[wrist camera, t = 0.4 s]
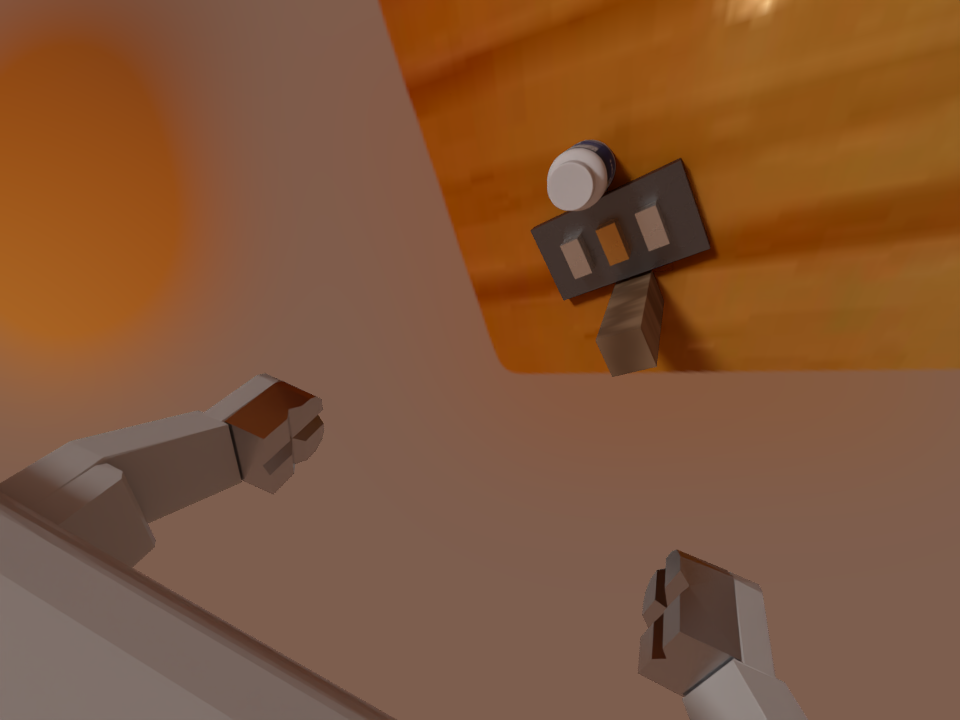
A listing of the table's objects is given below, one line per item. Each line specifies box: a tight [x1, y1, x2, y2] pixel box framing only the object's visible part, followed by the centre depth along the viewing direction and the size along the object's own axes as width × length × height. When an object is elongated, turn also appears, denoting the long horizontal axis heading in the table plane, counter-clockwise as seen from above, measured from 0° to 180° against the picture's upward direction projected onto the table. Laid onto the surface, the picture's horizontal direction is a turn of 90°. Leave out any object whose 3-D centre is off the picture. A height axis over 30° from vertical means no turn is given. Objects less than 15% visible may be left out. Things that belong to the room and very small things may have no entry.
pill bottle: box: [547, 140, 616, 211], centre depth 42 cm, size 5×5×10 cm
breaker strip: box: [531, 158, 710, 300], centre depth 47 cm, size 16×9×4 cm, turn 119°
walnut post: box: [596, 269, 664, 377], centre depth 45 cm, size 4×4×14 cm
